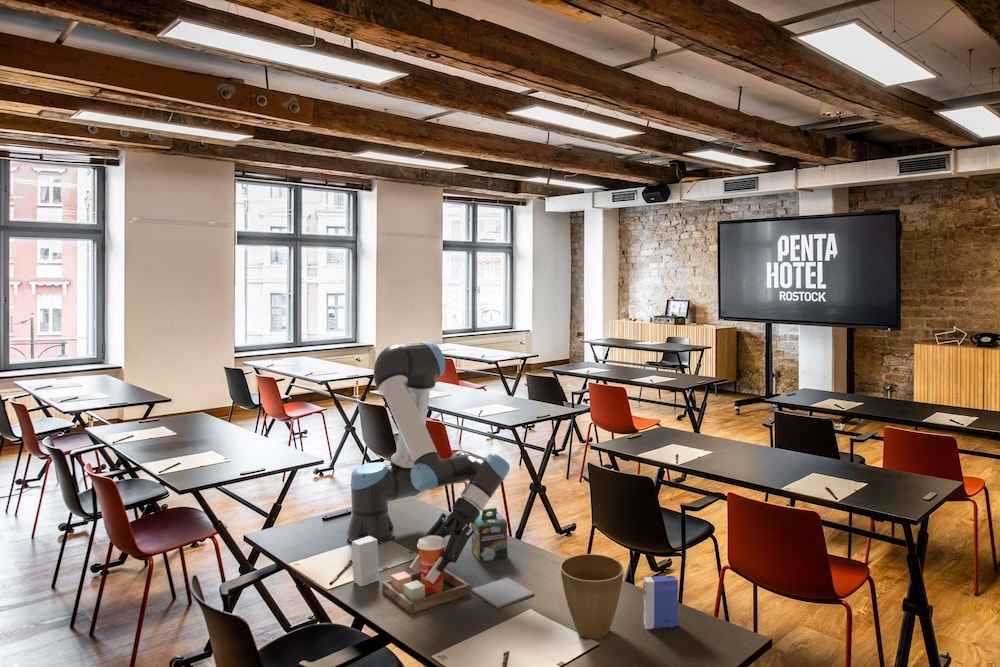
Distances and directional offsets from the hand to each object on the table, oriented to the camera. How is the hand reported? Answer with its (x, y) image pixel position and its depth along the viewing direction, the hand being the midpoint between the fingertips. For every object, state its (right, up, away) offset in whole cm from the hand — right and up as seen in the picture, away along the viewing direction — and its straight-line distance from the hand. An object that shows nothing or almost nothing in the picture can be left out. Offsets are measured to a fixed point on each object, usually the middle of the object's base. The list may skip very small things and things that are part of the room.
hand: (421, 575), depth 185 cm
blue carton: (+60, -6, -18) cm, 63 cm away
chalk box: (+18, -3, +26) cm, 32 cm away
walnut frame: (+1, -5, +1) cm, 5 cm away
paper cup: (+3, -5, +2) cm, 6 cm away
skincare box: (-16, -5, +8) cm, 19 cm away
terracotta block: (-5, -5, +1) cm, 8 cm away
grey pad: (+22, -5, 0) cm, 22 cm away
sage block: (-1, -6, -5) cm, 8 cm away
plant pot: (+43, -7, -20) cm, 48 cm away
